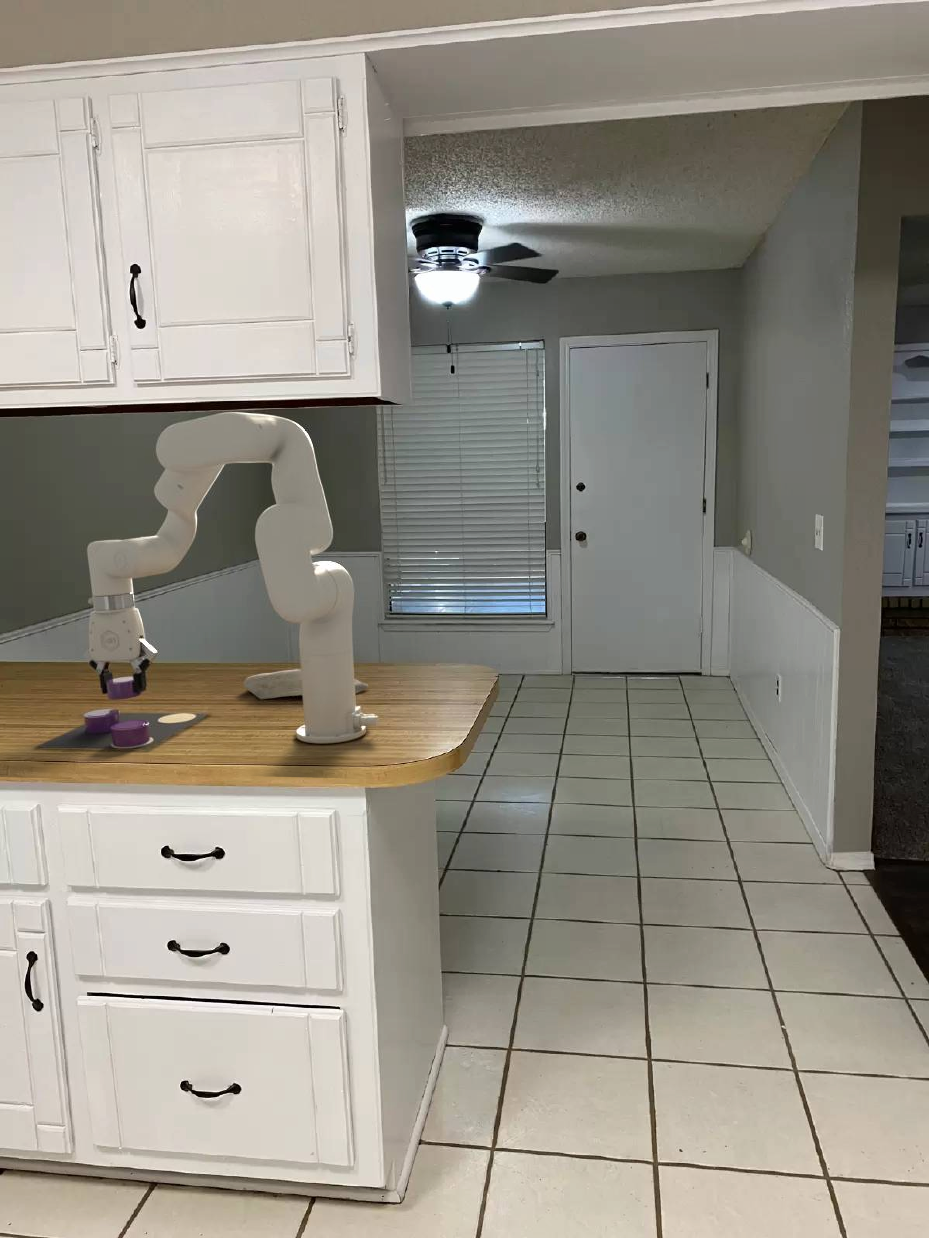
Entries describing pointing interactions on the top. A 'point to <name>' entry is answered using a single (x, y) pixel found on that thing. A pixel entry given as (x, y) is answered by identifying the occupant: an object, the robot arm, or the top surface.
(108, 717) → the dish
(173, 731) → the mat
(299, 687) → the stone
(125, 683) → the dish
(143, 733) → the purple short cylinder
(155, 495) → the robot arm
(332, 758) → the top surface
